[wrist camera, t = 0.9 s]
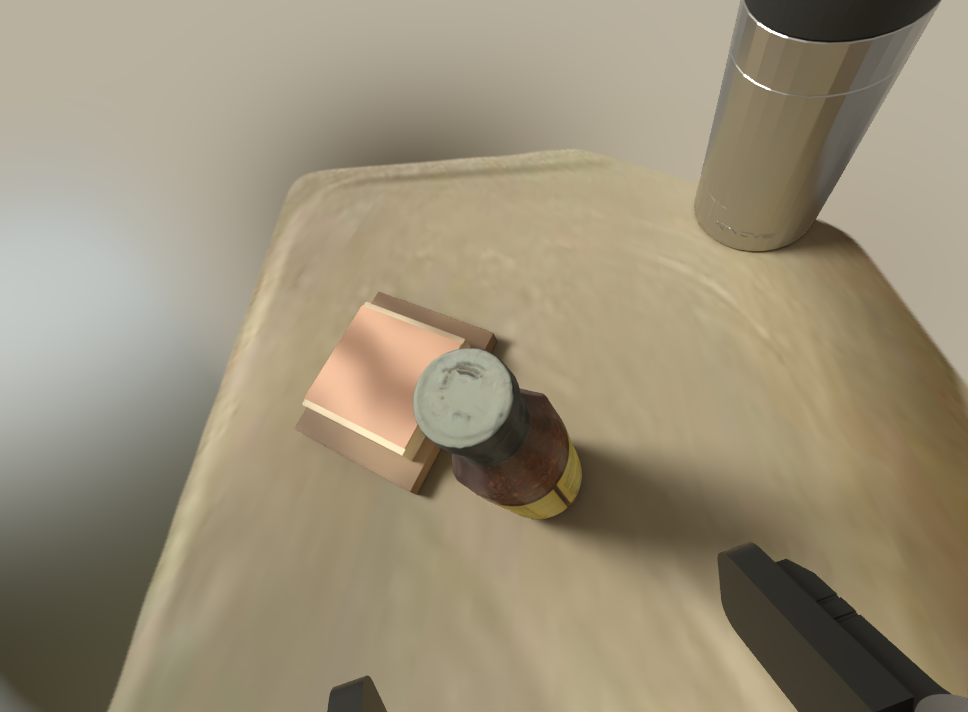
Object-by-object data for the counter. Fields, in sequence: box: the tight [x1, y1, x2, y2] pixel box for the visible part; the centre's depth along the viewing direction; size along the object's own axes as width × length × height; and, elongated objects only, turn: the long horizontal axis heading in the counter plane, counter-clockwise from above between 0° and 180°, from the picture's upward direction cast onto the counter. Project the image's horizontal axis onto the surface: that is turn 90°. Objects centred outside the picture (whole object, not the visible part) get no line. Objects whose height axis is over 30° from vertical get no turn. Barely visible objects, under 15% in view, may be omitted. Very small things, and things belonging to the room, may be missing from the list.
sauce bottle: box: [413, 348, 582, 519], centre depth 27 cm, size 6×6×20 cm
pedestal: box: [294, 292, 497, 494], centre depth 40 cm, size 14×12×4 cm
